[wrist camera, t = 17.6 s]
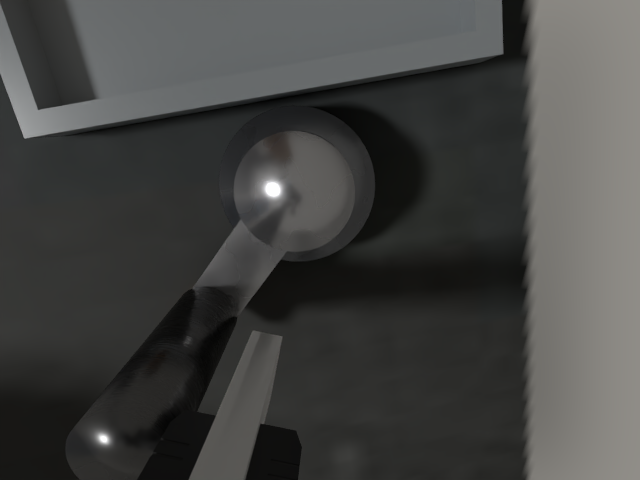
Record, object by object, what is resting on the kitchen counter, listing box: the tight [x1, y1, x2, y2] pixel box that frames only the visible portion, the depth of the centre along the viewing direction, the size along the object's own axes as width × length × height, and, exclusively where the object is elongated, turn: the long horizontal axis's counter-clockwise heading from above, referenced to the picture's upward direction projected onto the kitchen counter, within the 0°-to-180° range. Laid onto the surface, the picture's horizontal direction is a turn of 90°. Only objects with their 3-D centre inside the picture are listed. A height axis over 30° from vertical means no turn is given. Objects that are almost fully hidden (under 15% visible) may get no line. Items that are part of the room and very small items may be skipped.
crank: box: [65, 130, 355, 480], centre depth 14 cm, size 12×5×9 cm, turn 144°
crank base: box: [219, 106, 375, 262], centre depth 19 cm, size 11×13×2 cm
